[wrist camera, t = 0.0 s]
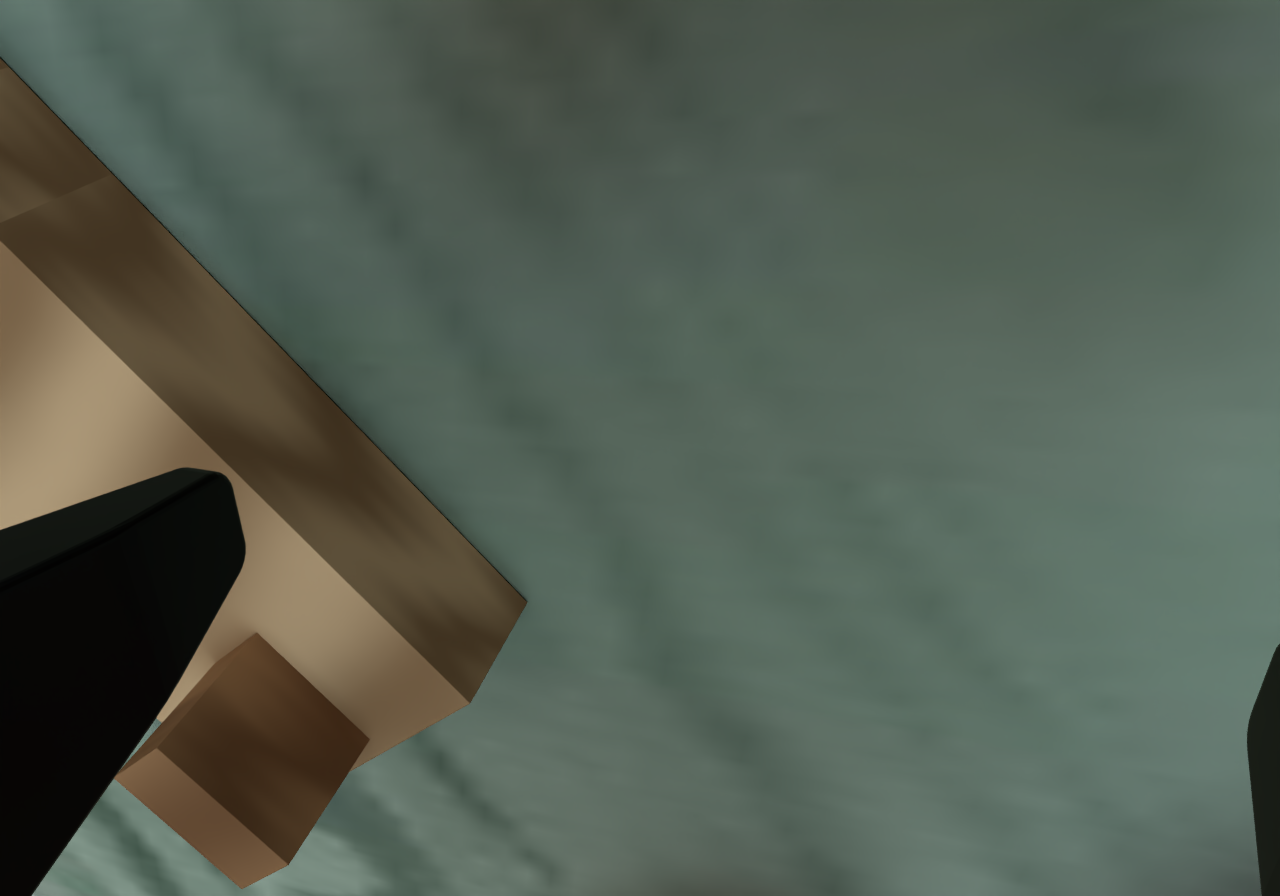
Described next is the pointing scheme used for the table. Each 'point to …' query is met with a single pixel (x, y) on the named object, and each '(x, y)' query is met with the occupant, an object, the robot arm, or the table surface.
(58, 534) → the robot arm
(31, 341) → the hand plane
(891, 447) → the table surface
